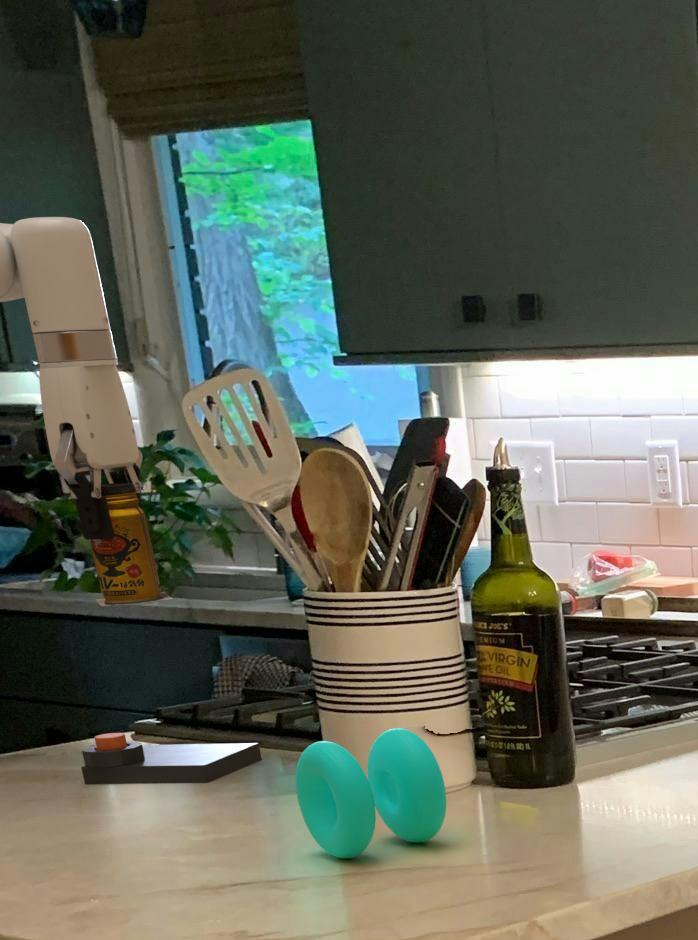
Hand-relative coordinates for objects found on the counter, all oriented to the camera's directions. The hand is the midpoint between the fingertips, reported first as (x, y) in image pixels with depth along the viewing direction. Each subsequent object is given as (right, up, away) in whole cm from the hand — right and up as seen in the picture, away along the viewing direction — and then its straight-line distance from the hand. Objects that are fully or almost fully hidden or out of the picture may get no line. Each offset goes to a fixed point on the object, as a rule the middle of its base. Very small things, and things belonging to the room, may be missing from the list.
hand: (116, 534), depth 207 cm
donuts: (+39, -41, -36) cm, 67 cm away
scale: (+6, -25, +1) cm, 26 cm away
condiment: (0, -6, +4) cm, 7 cm away
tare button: (+1, -24, -3) cm, 24 cm away
